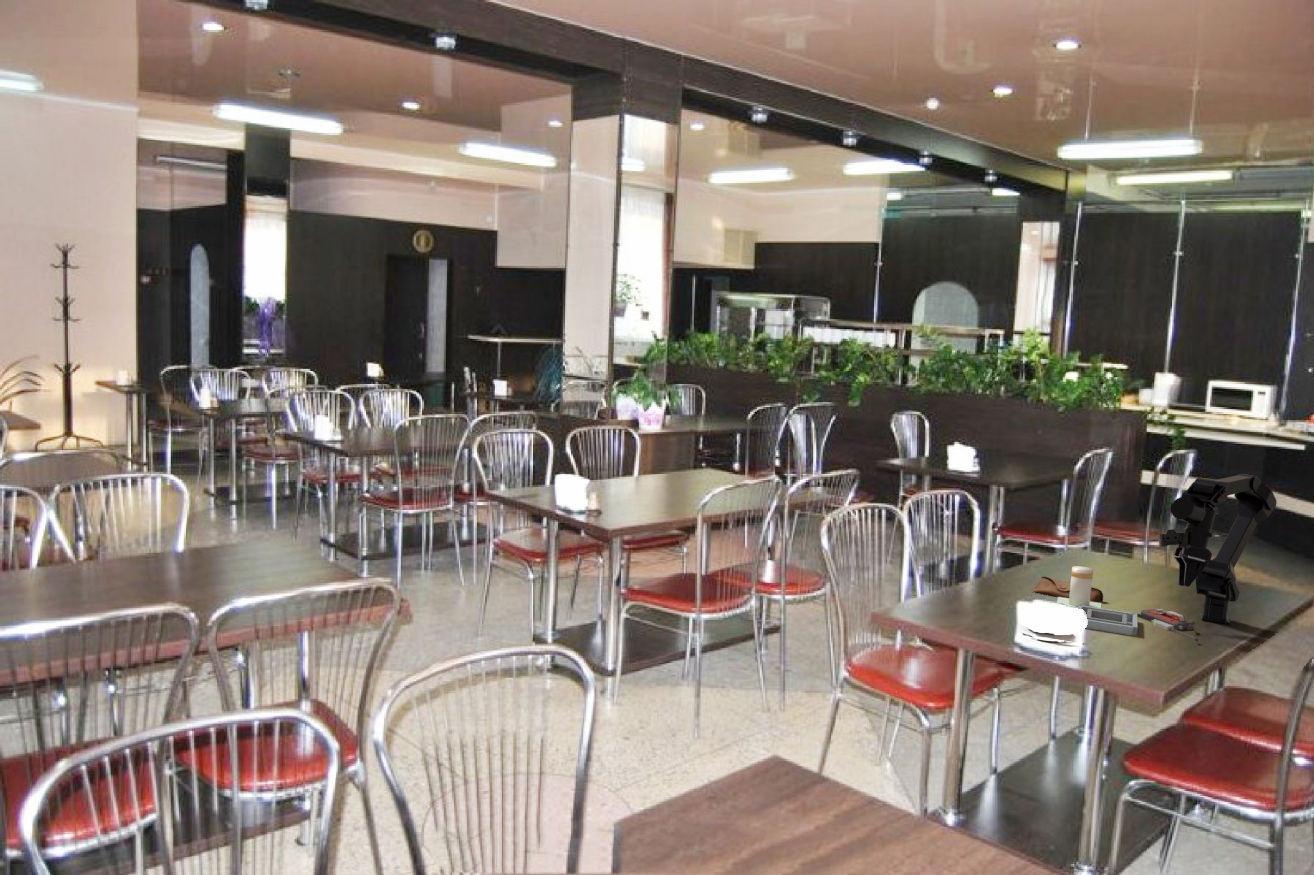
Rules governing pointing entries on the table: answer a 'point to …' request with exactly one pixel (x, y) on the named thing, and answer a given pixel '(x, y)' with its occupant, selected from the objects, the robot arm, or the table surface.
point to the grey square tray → (1111, 620)
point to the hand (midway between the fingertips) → (1183, 586)
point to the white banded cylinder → (1080, 586)
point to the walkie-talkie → (1168, 621)
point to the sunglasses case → (1062, 589)
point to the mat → (1066, 602)
